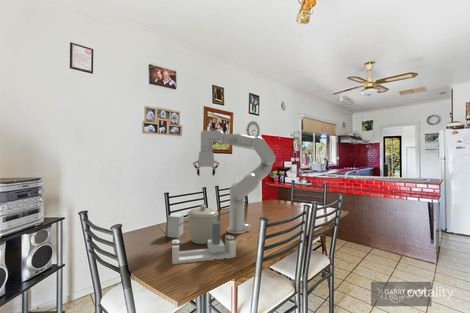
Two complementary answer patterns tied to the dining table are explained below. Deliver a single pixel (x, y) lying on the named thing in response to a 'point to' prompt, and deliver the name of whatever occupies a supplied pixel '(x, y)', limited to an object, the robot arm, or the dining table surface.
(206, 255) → the rail track
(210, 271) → the dining table surface
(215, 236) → the carriage
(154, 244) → the dining table surface
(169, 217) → the supplement box
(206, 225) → the canister
